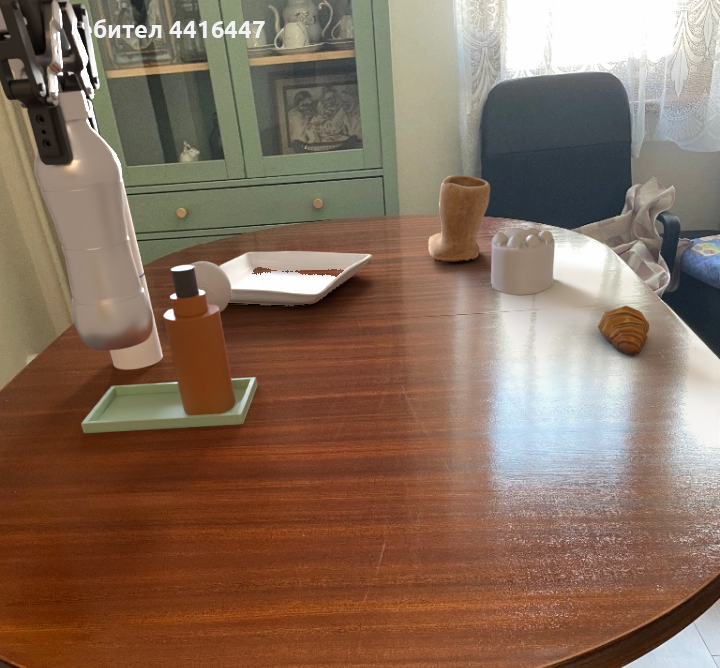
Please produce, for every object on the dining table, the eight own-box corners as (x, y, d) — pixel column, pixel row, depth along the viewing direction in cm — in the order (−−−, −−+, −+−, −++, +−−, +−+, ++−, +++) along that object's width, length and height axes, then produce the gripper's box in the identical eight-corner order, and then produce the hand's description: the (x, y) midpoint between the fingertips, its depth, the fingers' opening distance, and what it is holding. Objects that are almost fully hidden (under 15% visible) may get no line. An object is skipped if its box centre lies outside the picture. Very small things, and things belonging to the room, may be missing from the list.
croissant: (587, 325, 105) (590, 291, 103) (636, 323, 105) (640, 289, 102) (605, 360, 94) (608, 323, 91) (659, 358, 93) (665, 320, 91)
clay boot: (490, 264, 138) (492, 180, 131) (428, 267, 140) (426, 184, 132) (486, 245, 151) (487, 168, 144) (428, 248, 153) (426, 172, 145)
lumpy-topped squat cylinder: (549, 272, 131) (552, 222, 126) (555, 293, 120) (559, 239, 115) (490, 274, 132) (491, 225, 128) (491, 295, 121) (492, 242, 117)
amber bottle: (178, 418, 87) (146, 277, 79) (190, 396, 93) (161, 262, 84) (230, 415, 87) (204, 273, 78) (239, 393, 93) (216, 258, 84)
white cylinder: (236, 357, 106) (218, 252, 98) (251, 372, 100) (233, 262, 92) (188, 368, 103) (165, 261, 96) (200, 384, 98) (178, 272, 90)
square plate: (320, 315, 119) (318, 291, 117) (179, 309, 129) (174, 287, 127) (374, 270, 141) (373, 250, 139) (250, 268, 150) (247, 249, 148)
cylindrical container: (138, 374, 102) (92, 186, 90) (103, 368, 106) (53, 186, 93) (173, 357, 108) (134, 176, 95) (138, 351, 111) (96, 176, 98)
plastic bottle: (99, 334, 68) (36, 93, 58) (169, 332, 67) (117, 87, 57) (69, 360, 62) (-8, 99, 52) (144, 358, 62) (81, 92, 51)
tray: (84, 436, 86) (80, 423, 85) (114, 397, 96) (111, 385, 95) (243, 427, 85) (241, 414, 84) (257, 388, 95) (255, 376, 94)
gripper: (-1, -94, 55) (62, 150, 63) (-113, -134, 42) (-17, 175, 51) (97, -103, 54) (146, 144, 63) (11, -147, 42) (88, 168, 50)
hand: (73, 157), depth 57 cm, fingers closed on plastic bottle, 5 cm apart
